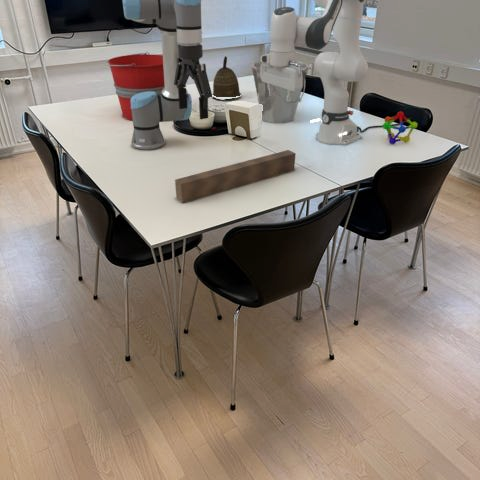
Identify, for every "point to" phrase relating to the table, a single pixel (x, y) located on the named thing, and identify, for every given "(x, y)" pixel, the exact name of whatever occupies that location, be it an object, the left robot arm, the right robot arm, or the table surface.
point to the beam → (233, 176)
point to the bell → (225, 82)
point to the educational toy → (398, 128)
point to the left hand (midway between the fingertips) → (193, 113)
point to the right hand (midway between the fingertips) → (280, 98)
